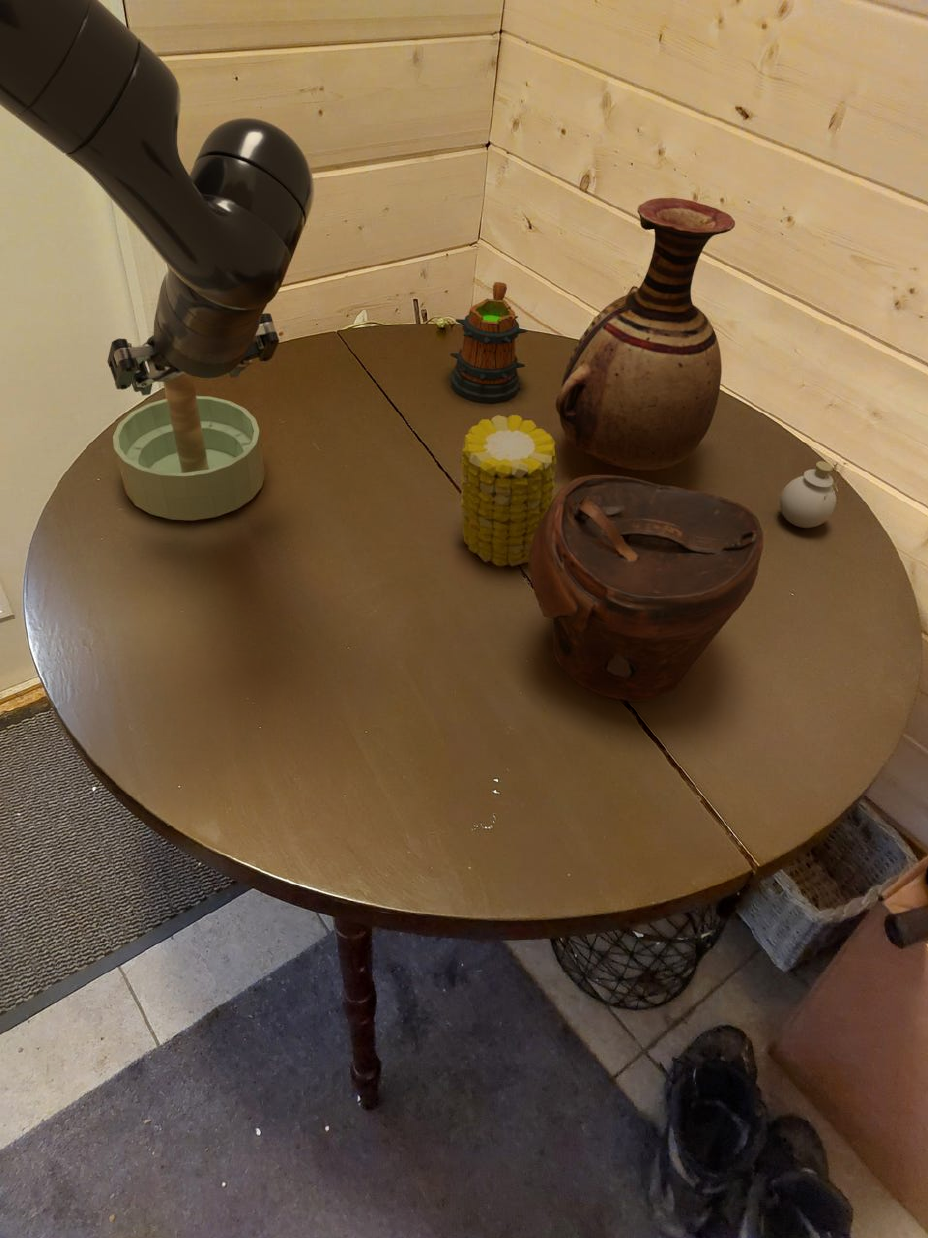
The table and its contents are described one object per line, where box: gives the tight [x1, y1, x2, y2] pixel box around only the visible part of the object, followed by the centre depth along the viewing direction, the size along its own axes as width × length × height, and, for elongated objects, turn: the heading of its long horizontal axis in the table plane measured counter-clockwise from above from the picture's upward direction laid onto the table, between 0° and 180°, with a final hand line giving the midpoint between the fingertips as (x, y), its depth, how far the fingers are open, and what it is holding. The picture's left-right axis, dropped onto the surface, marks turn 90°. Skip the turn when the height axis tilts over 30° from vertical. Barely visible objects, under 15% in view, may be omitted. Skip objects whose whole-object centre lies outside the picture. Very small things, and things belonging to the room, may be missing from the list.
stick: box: [162, 367, 209, 473], centre depth 89 cm, size 3×3×14 cm
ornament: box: [779, 460, 839, 529], centre depth 94 cm, size 6×7×10 cm
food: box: [460, 414, 557, 568], centre depth 86 cm, size 15×12×10 cm
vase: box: [555, 197, 736, 471], centre depth 93 cm, size 21×18×30 cm
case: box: [528, 474, 764, 702], centre depth 75 cm, size 18×20×18 cm
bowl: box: [112, 395, 266, 521], centre depth 92 cm, size 15×15×6 cm
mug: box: [449, 281, 528, 404], centre depth 111 cm, size 13×10×12 cm
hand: (187, 375), depth 80 cm, fingers open, 8 cm apart
